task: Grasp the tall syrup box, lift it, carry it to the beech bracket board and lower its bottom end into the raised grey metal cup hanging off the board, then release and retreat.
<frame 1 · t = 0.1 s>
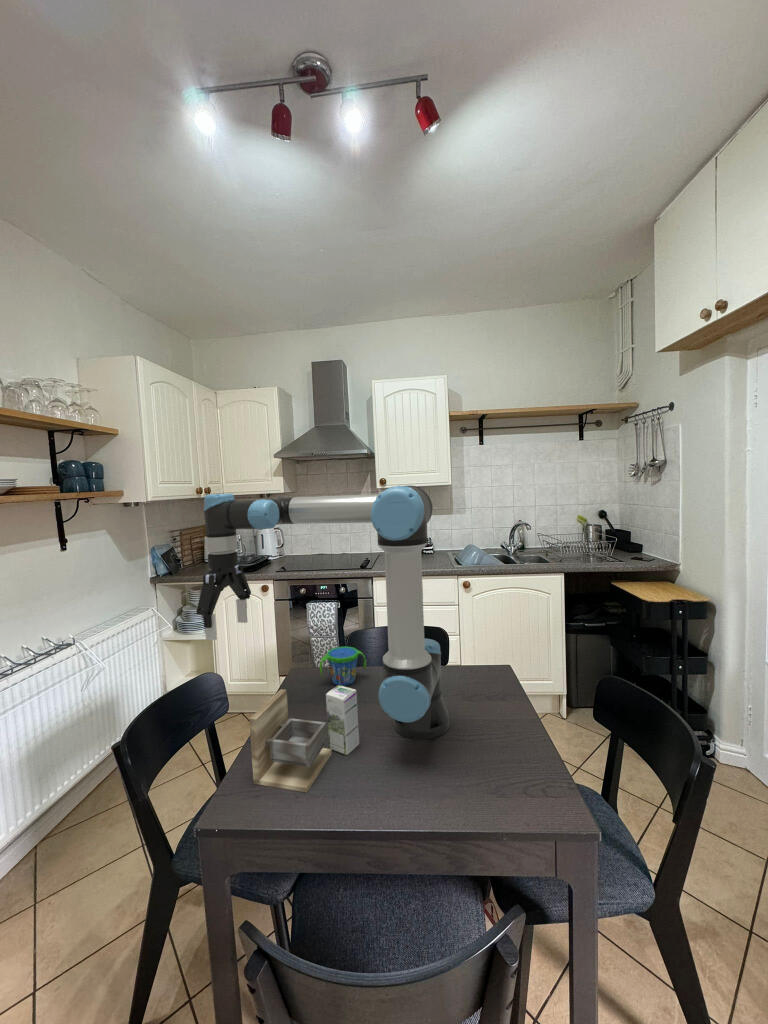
hand: (227, 630, 117), 28 cm above the table, fingers open, 13 cm apart
syrup box: (344, 747, 109), on the table
bracket: (300, 768, 102), on the table
snack cup: (344, 682, 146), on the table
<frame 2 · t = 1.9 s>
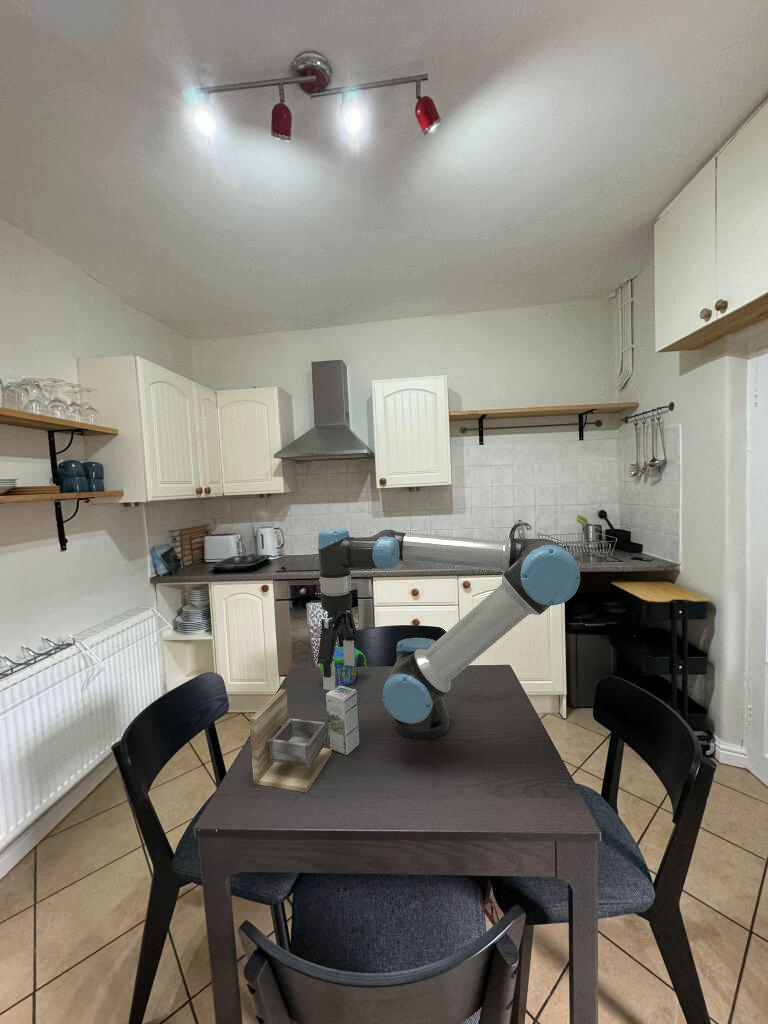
hand: (340, 676, 108), 18 cm above the table, fingers open, 13 cm apart
nothing on the table moved.
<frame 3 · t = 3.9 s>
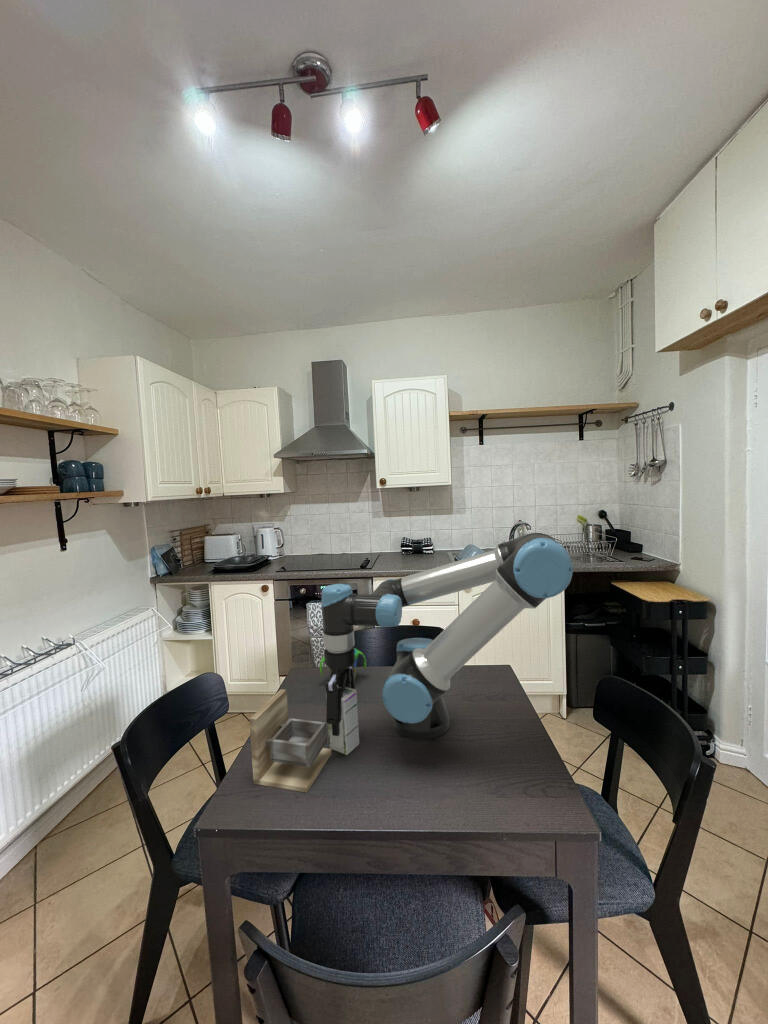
hand: (343, 736, 109), 3 cm above the table, fingers closed on syrup box, 7 cm apart
syrup box: (344, 747, 109), on the table, touching gripper
everything else where it was.
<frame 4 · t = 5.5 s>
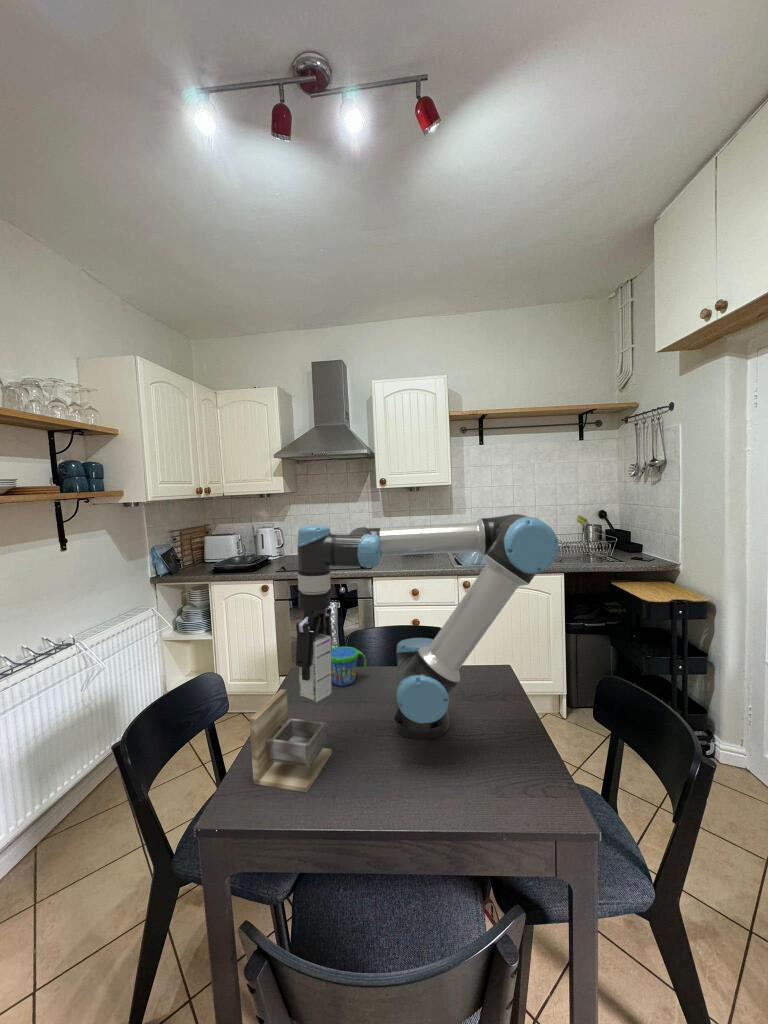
hand: (315, 684, 105), 18 cm above the table, fingers closed on syrup box, 7 cm apart
syrup box: (315, 696, 105), point 15 cm above the table, touching gripper
everything else where it was.
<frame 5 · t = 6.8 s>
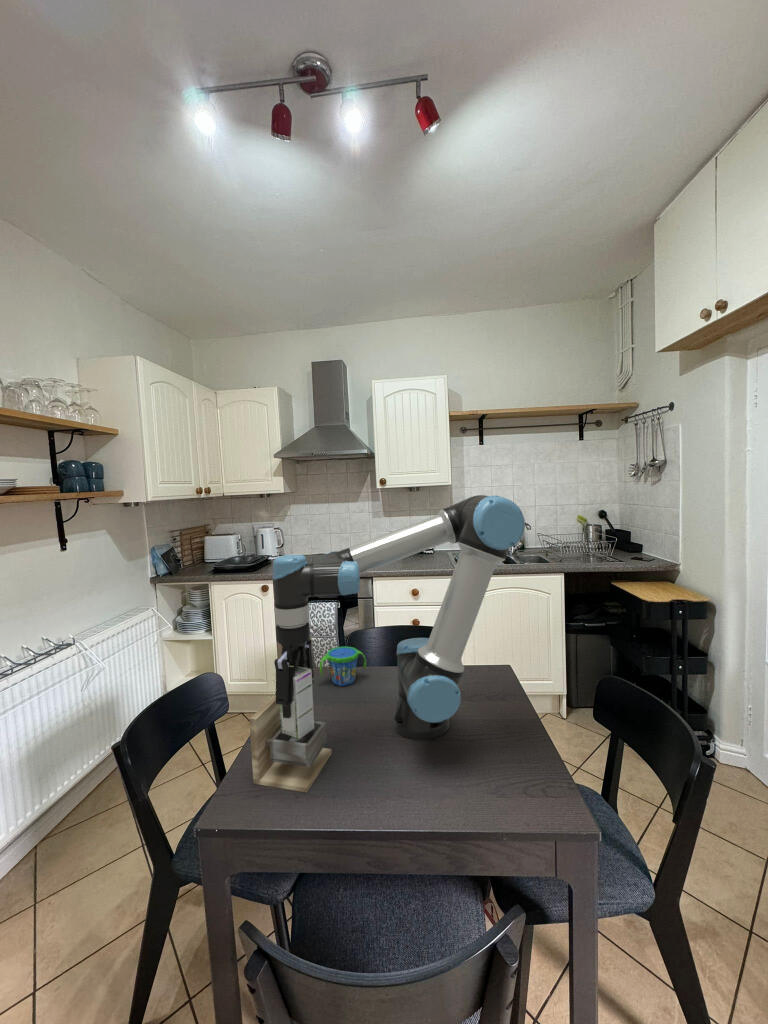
hand: (297, 720, 101), 12 cm above the table, fingers closed on syrup box, 7 cm apart
syrup box: (297, 732, 101), point 9 cm above the table, touching gripper
everything else where it was.
when the fingers open (10 cm above the table, at t = 7.4 s): syrup box drops 2 cm, resting on bracket.
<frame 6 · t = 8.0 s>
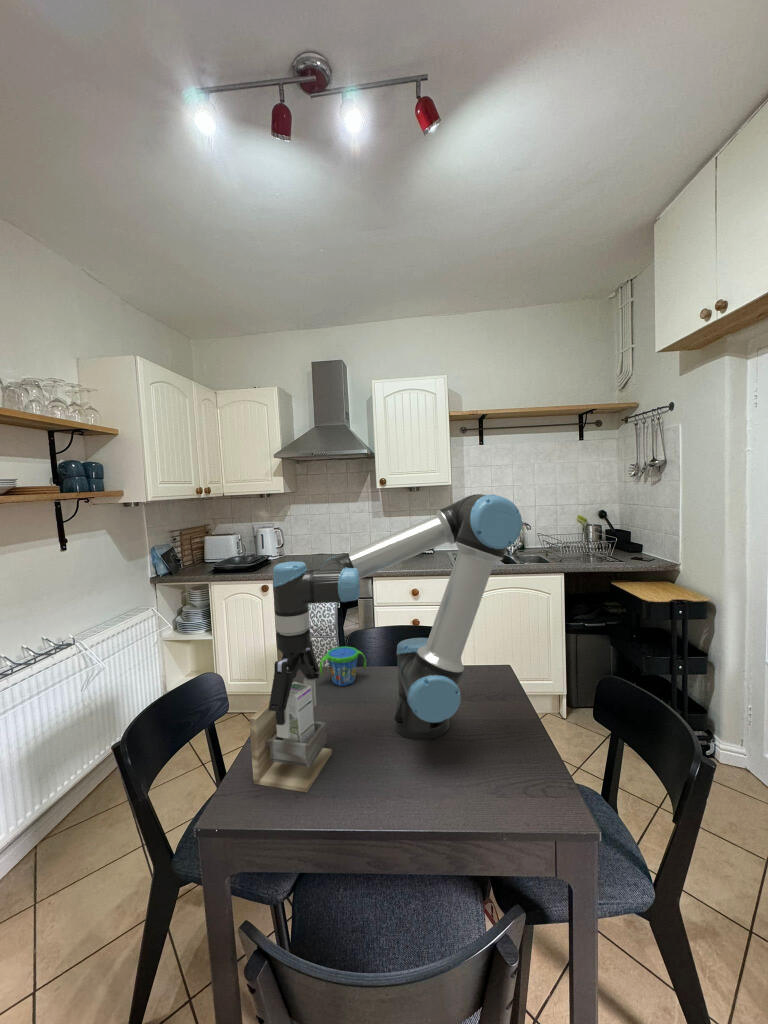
hand: (298, 720, 101), 12 cm above the table, fingers open, 13 cm apart
syrup box: (299, 748, 101), point 5 cm above the table, touching bracket
everything else where it was.
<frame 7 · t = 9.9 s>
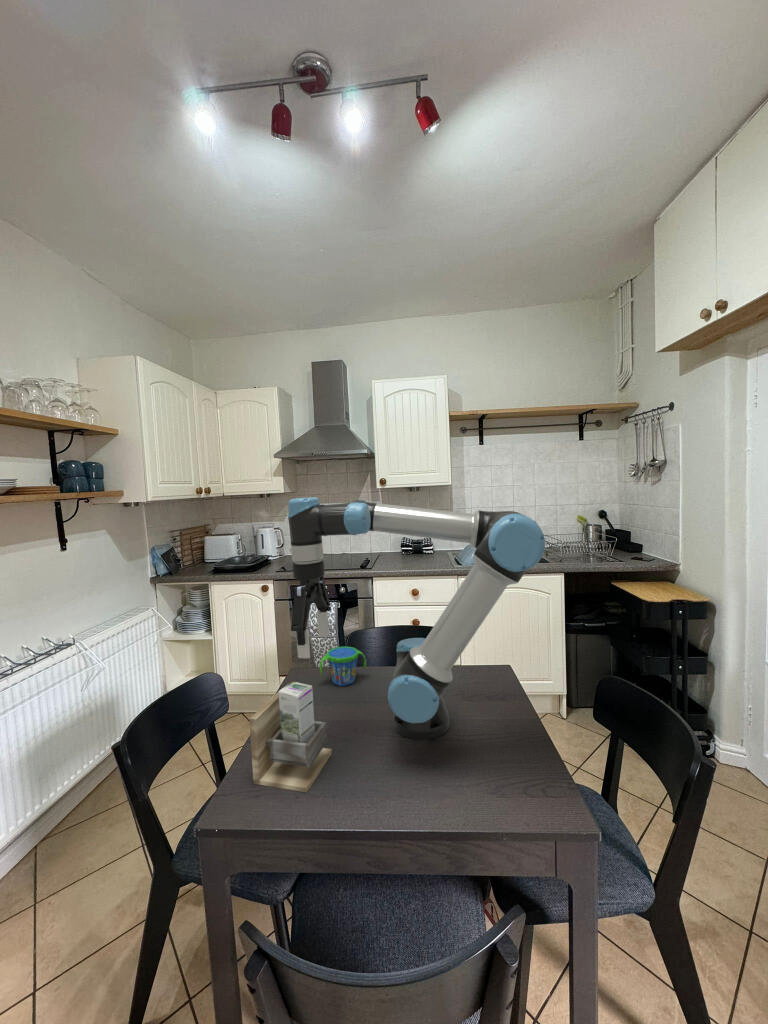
hand: (314, 646, 107), 26 cm above the table, fingers open, 13 cm apart
nothing on the table moved.
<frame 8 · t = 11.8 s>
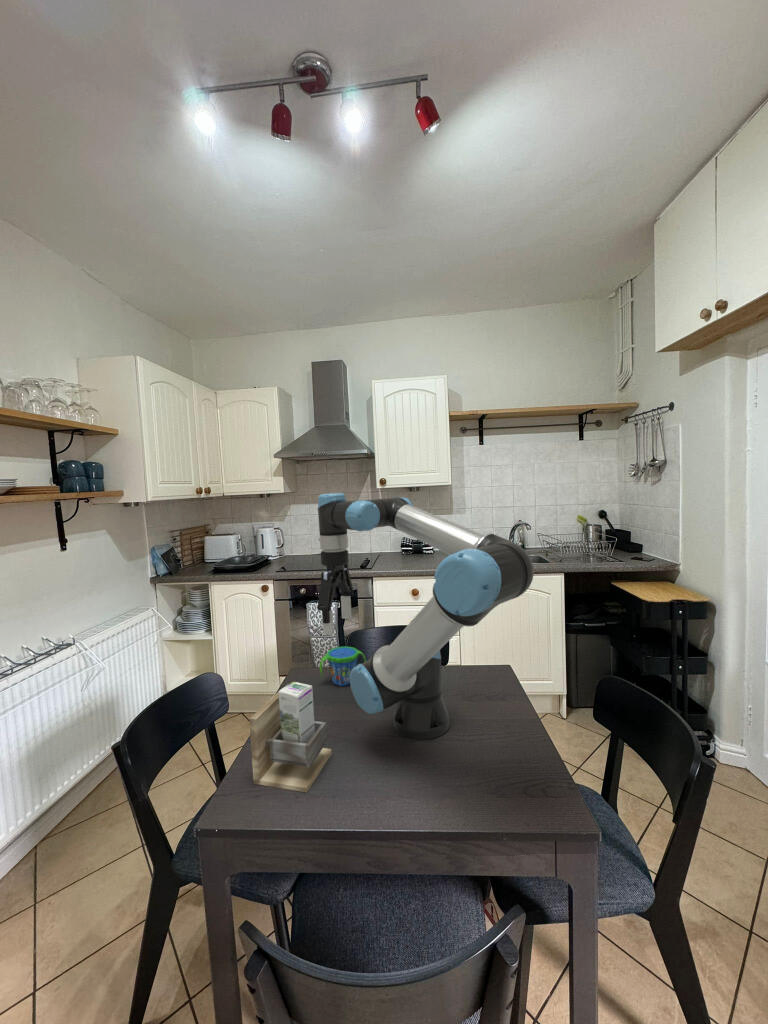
hand: (338, 626, 121), 27 cm above the table, fingers open, 13 cm apart
nothing on the table moved.
at the end: syrup box 0.1 cm off-centre on the bracket, point 4.8 cm above the bracket's base; syrup box tilted 0°; the gripper is holding nothing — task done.
